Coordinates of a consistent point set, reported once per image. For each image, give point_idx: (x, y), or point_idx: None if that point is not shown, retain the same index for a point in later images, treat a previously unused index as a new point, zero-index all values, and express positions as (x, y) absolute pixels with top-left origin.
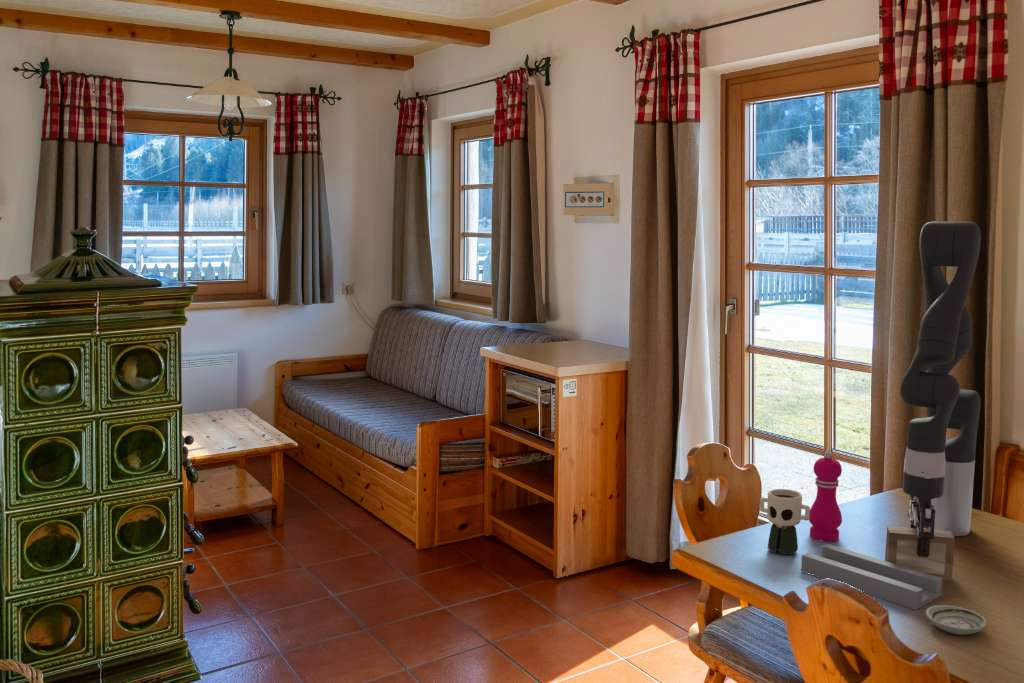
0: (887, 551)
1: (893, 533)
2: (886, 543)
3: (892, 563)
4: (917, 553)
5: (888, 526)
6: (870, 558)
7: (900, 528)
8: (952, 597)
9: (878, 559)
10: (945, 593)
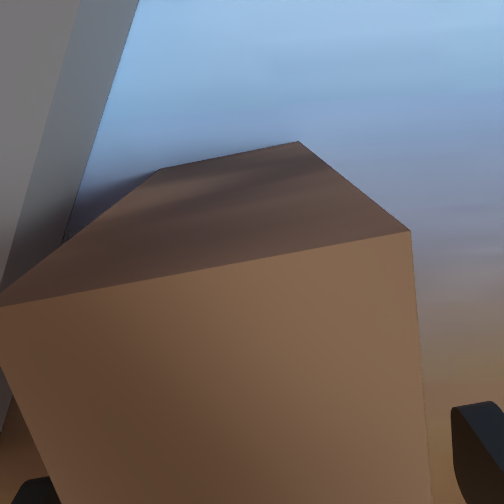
0: (199, 186)
1: (13, 365)
2: (307, 175)
3: (7, 236)
4: (18, 495)
5: (401, 258)
6: (15, 19)
7: (355, 461)
8: (8, 493)
9: (37, 105)
10: (42, 467)
